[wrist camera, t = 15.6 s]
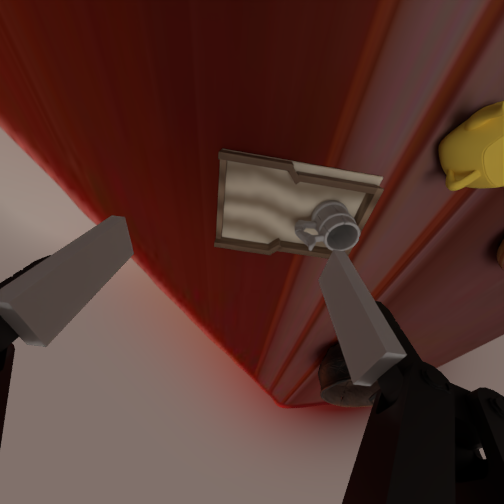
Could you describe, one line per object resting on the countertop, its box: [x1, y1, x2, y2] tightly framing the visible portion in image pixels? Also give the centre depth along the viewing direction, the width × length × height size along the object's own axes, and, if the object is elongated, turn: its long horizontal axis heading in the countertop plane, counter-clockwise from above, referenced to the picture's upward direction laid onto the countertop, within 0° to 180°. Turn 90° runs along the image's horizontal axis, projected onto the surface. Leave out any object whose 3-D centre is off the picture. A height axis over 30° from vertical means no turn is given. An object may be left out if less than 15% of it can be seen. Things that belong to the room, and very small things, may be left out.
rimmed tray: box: [214, 149, 384, 259], centre depth 43 cm, size 20×32×4 cm, turn 81°
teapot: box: [438, 101, 504, 191], centre depth 31 cm, size 14×13×10 cm
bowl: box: [318, 344, 380, 407], centre depth 70 cm, size 25×25×15 cm
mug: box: [294, 200, 360, 251], centre depth 39 cm, size 8×12×12 cm, turn 100°
